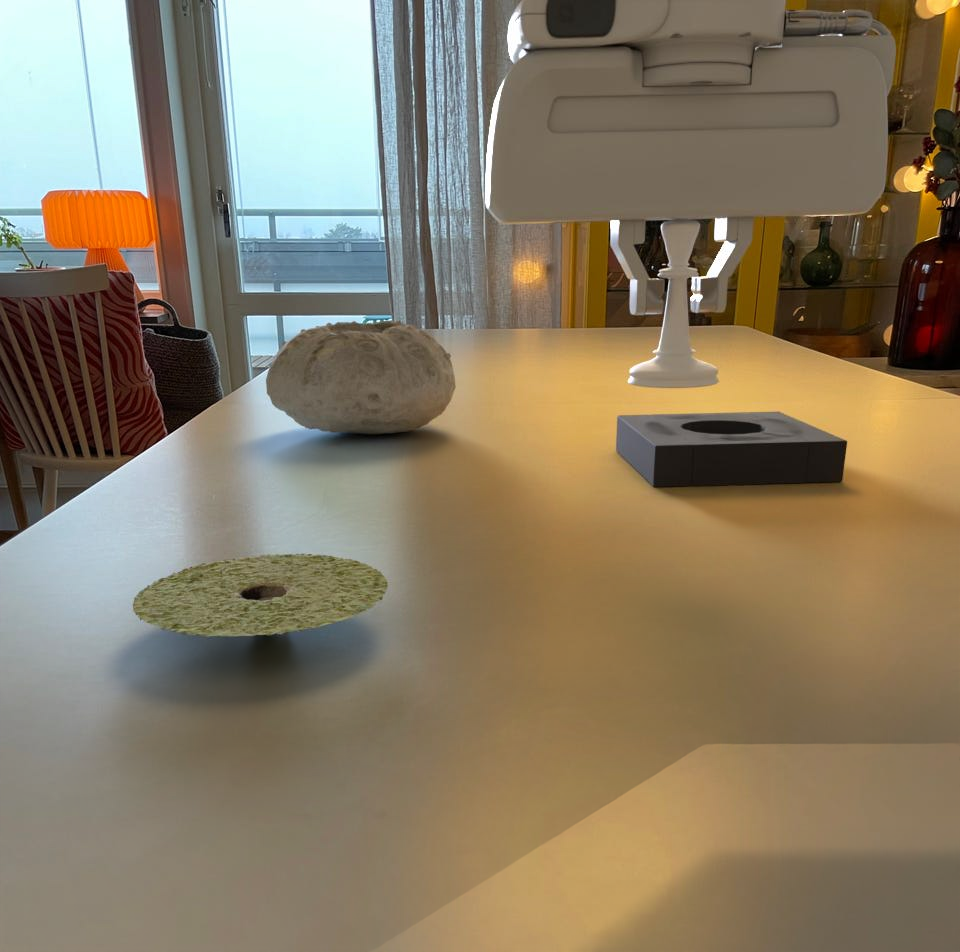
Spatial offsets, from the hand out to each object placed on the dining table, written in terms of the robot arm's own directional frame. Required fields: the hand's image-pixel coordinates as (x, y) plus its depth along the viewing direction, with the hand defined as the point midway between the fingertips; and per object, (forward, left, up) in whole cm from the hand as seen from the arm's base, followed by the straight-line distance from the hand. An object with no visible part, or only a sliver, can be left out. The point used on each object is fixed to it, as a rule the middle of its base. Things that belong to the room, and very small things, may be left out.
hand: (676, 313), depth 52 cm
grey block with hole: (-10, -21, -13) cm, 26 cm away
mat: (+21, +12, -13) cm, 28 cm away
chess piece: (0, 0, -4) cm, 4 cm away
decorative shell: (+19, -41, -13) cm, 47 cm away
